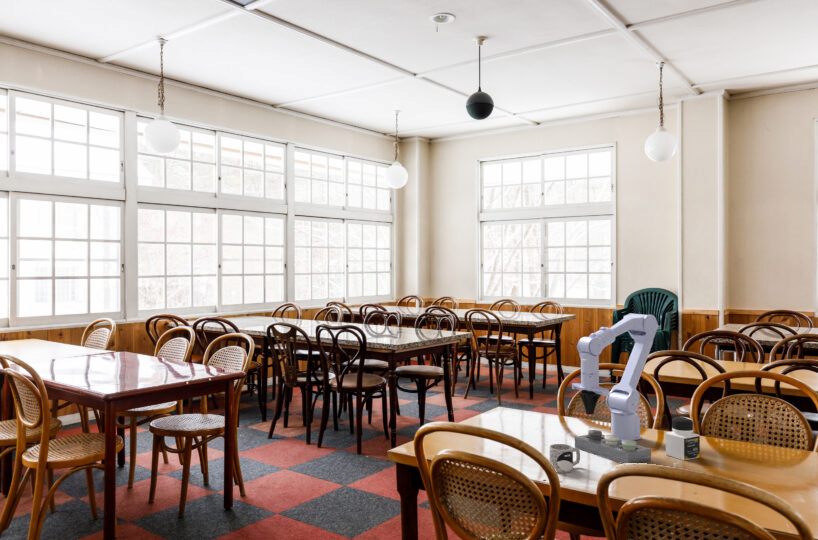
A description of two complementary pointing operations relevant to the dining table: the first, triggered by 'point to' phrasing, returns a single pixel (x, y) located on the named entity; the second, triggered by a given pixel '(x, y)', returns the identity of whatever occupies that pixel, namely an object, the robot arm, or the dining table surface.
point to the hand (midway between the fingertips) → (590, 413)
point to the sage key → (629, 445)
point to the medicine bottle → (682, 440)
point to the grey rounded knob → (595, 434)
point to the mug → (563, 457)
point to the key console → (612, 450)
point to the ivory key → (611, 439)
